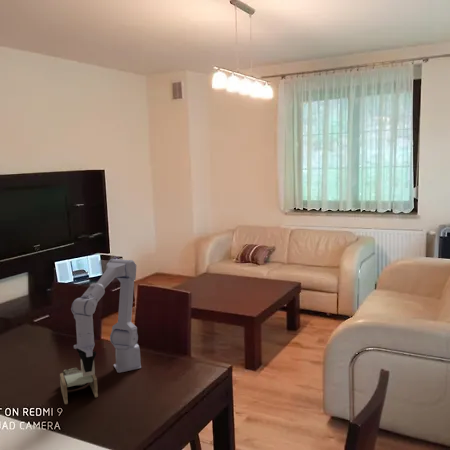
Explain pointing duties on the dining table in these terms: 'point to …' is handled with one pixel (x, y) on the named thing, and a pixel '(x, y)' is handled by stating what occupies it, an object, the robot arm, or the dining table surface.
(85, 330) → the robot arm
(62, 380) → the tan piece
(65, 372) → the rock sample
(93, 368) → the plain off-white cube
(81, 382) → the pale grey slab
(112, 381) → the dining table surface
